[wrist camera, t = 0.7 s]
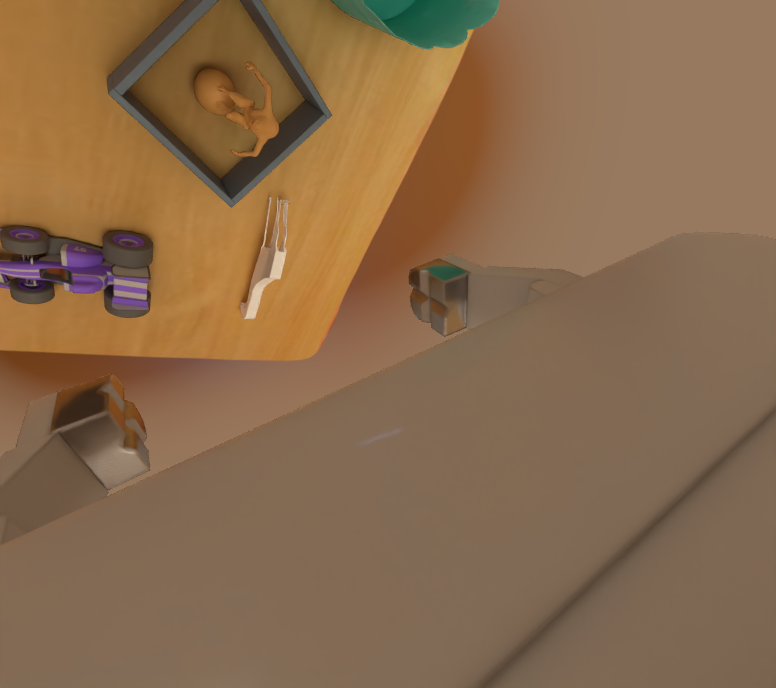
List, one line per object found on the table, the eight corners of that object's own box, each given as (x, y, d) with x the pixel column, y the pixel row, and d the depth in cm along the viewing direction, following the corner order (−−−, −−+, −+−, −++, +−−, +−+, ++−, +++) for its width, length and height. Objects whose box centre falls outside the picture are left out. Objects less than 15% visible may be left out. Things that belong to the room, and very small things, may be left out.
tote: (223, -39, 35) (238, -36, 32) (313, 101, 46) (332, 115, 43) (105, 78, 36) (107, 93, 33) (220, 187, 47) (231, 208, 44)
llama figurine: (251, 195, 56) (237, 315, 60) (281, 196, 47) (262, 335, 51) (263, 199, 57) (249, 316, 61) (295, 200, 48) (276, 336, 52)
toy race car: (-26, 210, 38) (-39, 242, 34) (151, 233, 47) (156, 260, 43) (-9, 291, 43) (-19, 326, 39) (148, 297, 52) (153, 327, 48)
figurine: (196, 32, 37) (222, 54, 30) (257, 59, 41) (294, 85, 34) (186, 123, 42) (207, 161, 34) (243, 140, 45) (273, 178, 38)
